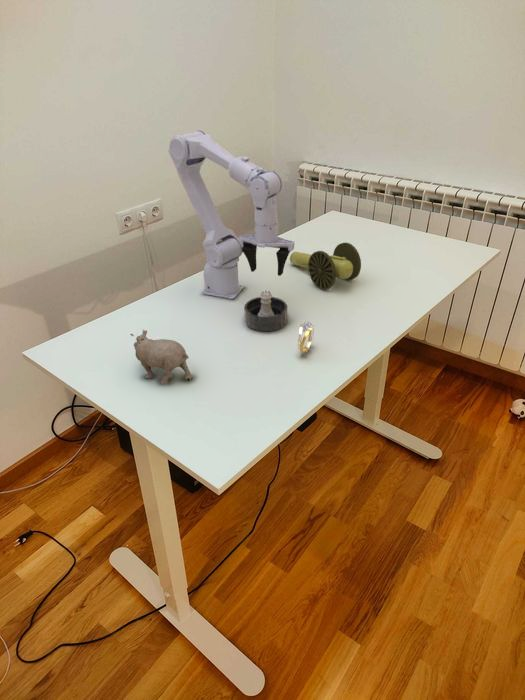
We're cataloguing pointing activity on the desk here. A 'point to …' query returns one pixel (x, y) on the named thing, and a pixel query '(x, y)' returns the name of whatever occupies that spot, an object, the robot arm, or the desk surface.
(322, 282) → the cannon
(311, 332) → the ring
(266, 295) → the rook chess piece
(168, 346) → the brown animal figurine
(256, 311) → the bowl
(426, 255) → the desk surface
